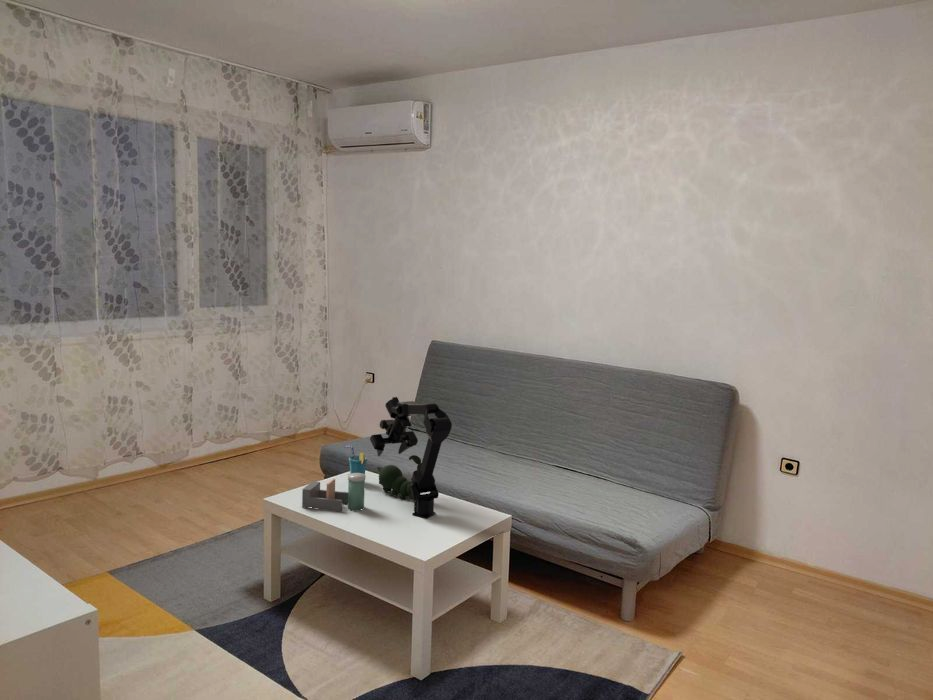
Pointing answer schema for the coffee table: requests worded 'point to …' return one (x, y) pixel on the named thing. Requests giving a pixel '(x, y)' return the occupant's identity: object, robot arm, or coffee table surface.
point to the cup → (357, 462)
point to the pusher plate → (331, 490)
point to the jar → (356, 491)
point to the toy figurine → (397, 479)
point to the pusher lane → (322, 498)
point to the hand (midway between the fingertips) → (388, 454)
